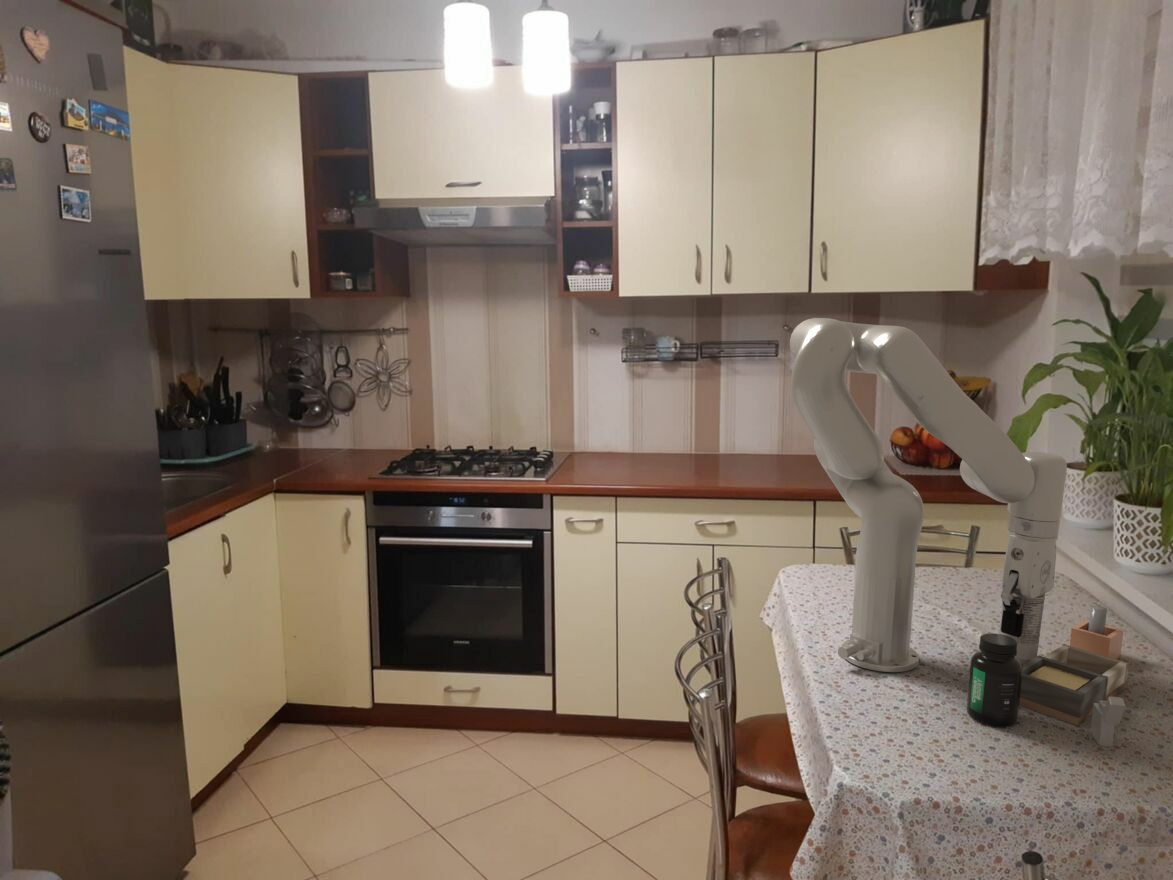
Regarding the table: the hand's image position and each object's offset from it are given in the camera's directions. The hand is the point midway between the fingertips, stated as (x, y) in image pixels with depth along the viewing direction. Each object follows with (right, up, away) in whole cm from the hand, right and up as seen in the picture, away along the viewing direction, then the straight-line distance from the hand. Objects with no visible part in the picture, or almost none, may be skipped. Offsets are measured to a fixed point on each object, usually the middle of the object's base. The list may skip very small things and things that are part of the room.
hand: (1019, 629), depth 142 cm
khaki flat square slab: (-2, -6, -14) cm, 15 cm away
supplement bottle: (-14, -9, -19) cm, 25 cm away
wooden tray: (+2, -8, -11) cm, 14 cm away
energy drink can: (0, -5, +1) cm, 5 cm away
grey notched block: (-2, -10, -26) cm, 28 cm away
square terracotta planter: (+14, -5, +3) cm, 16 cm away
